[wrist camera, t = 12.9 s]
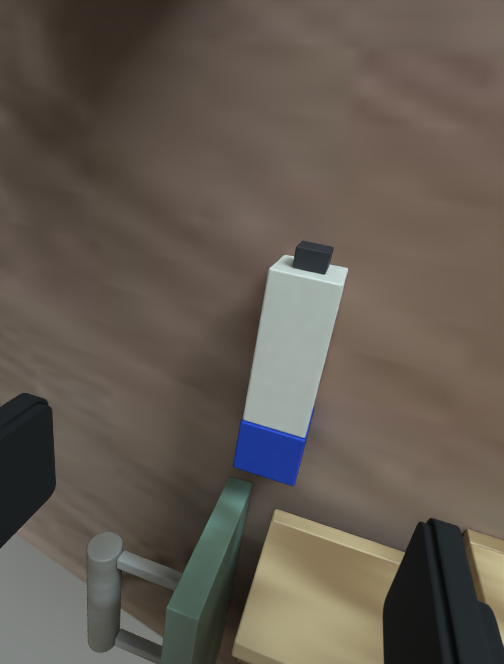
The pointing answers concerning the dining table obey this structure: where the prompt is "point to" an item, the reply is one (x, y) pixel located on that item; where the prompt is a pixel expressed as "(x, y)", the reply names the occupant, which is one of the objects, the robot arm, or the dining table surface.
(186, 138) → the dining table surface
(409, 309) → the dining table surface
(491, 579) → the cabinet
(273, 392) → the white and blue block
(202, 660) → the drawer
